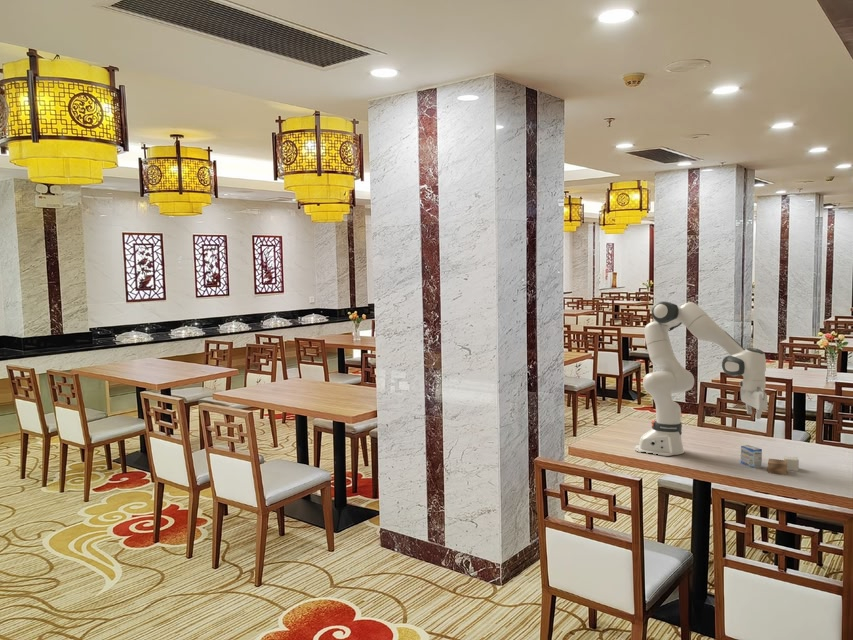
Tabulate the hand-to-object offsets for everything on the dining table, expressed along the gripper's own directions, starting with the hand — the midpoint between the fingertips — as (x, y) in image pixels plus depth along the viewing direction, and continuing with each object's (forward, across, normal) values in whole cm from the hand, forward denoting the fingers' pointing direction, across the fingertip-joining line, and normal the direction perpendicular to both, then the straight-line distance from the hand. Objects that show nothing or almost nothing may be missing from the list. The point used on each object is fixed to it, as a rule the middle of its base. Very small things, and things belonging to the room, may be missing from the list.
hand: (753, 416), depth 294 cm
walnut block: (+23, -9, -7) cm, 25 cm away
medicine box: (+23, +1, 0) cm, 23 cm away
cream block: (+23, -4, -15) cm, 27 cm away
